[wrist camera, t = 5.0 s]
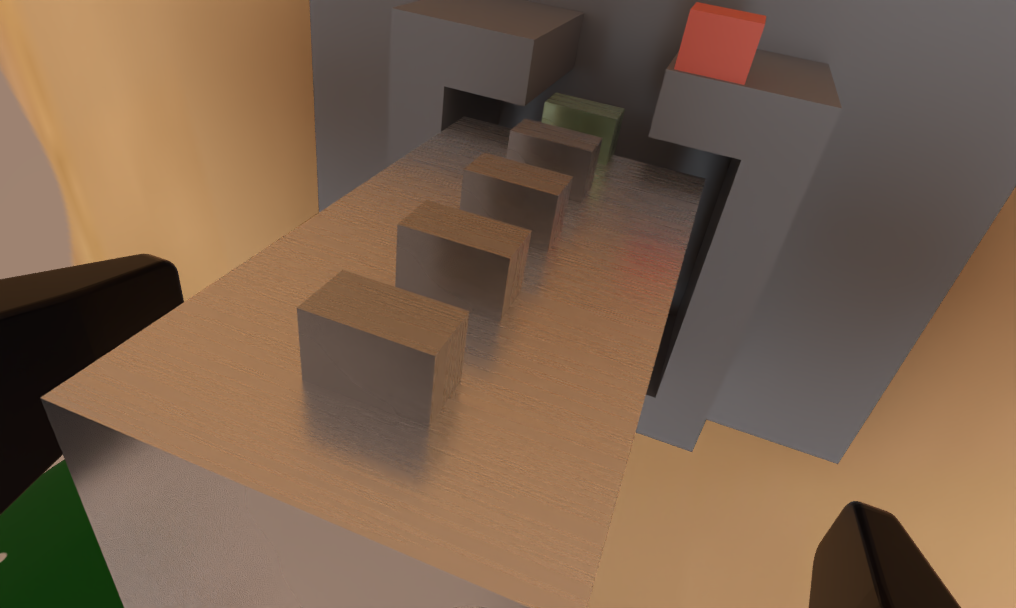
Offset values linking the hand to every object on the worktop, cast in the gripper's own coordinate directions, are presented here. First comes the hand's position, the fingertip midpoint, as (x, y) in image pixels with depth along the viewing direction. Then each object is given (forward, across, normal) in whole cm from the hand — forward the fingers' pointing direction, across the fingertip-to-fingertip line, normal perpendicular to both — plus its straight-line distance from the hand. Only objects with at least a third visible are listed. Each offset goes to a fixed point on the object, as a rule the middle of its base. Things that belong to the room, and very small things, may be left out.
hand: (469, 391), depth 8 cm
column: (+4, 0, 0) cm, 4 cm away
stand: (+8, 0, 0) cm, 8 cm away
